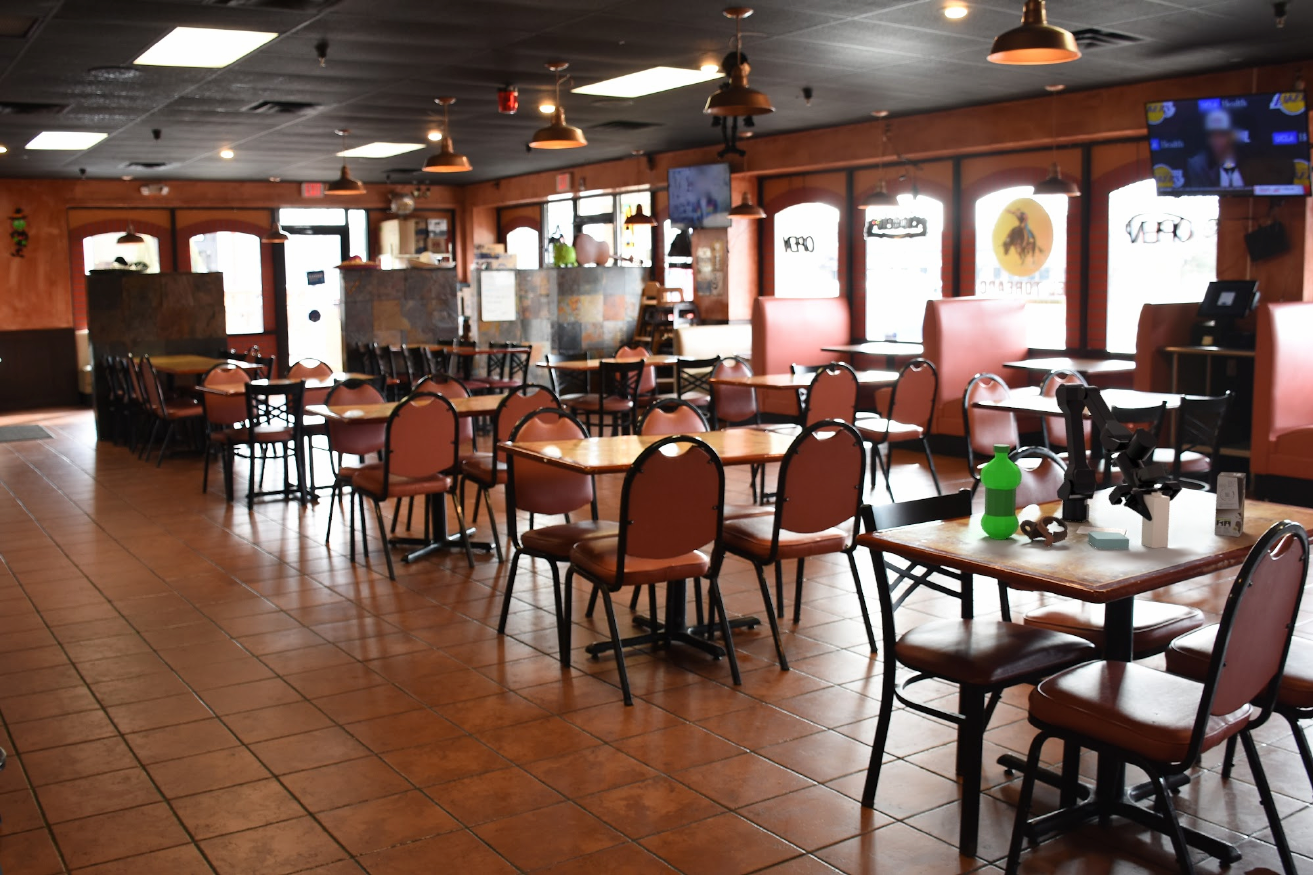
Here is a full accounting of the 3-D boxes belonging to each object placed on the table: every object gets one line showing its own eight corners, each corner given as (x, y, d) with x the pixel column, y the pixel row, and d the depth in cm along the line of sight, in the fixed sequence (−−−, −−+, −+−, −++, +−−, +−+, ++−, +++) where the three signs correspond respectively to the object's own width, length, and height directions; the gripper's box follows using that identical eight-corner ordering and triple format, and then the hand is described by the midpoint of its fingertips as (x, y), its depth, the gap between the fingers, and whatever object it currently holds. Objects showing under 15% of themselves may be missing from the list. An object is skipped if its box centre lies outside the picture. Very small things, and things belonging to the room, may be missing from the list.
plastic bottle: (1019, 542, 313) (1021, 448, 310) (978, 540, 316) (980, 447, 313) (1020, 534, 322) (1022, 443, 319) (980, 532, 326) (982, 442, 323)
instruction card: (1076, 533, 323) (1076, 532, 323) (1079, 527, 331) (1080, 525, 331) (1123, 537, 318) (1123, 535, 318) (1126, 530, 326) (1126, 529, 326)
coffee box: (1240, 537, 316) (1243, 477, 314) (1213, 534, 319) (1216, 475, 317) (1244, 531, 323) (1247, 472, 321) (1218, 528, 327) (1221, 471, 325)
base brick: (1088, 543, 312) (1088, 532, 312) (1119, 543, 311) (1119, 532, 311) (1096, 550, 304) (1097, 538, 304) (1128, 550, 304) (1129, 539, 303)
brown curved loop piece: (1060, 540, 317) (1070, 517, 312) (1060, 563, 309) (1071, 539, 304) (1015, 528, 318) (1025, 505, 313) (1014, 550, 311) (1024, 526, 306)
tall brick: (1141, 544, 309) (1143, 492, 307) (1156, 543, 310) (1158, 491, 308) (1152, 548, 304) (1154, 495, 302) (1167, 546, 305) (1170, 494, 304)
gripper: (1116, 454, 305) (1142, 503, 296) (1179, 450, 310) (1206, 499, 301) (1097, 479, 314) (1121, 528, 305) (1157, 476, 319) (1184, 524, 309)
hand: (1159, 519), depth 305 cm, fingers closed on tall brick, 4 cm apart
